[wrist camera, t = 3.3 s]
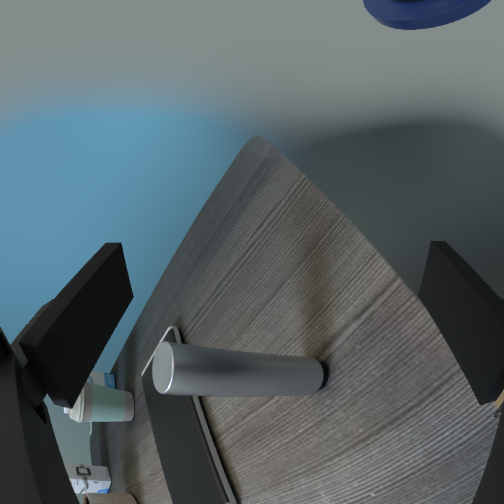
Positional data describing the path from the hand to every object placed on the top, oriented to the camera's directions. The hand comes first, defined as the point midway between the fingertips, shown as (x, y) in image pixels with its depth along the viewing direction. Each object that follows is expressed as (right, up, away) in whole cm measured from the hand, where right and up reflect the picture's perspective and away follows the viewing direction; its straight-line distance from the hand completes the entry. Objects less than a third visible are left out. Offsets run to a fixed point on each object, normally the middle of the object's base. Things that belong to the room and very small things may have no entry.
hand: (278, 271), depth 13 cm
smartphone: (-10, -23, +24) cm, 35 cm away
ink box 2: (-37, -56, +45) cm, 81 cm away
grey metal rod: (+4, -9, +11) cm, 15 cm away
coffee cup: (-24, -29, +41) cm, 56 cm away
